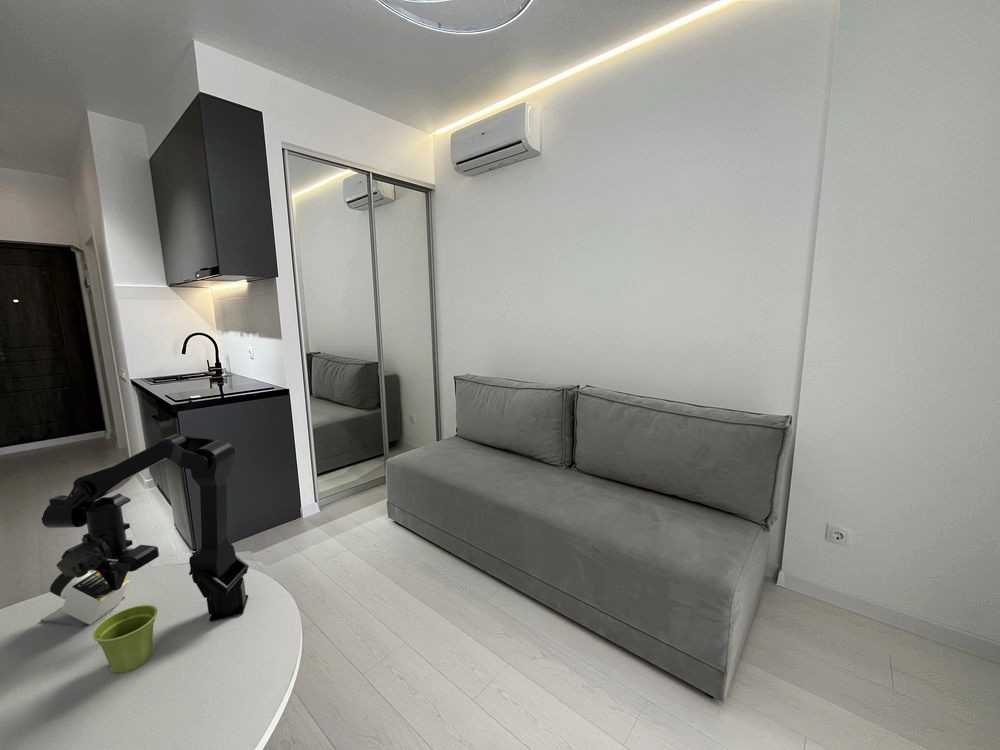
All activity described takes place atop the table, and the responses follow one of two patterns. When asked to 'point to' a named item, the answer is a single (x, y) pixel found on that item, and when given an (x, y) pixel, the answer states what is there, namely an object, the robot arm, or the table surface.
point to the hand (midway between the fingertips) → (116, 589)
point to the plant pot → (127, 637)
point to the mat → (64, 618)
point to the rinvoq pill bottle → (87, 595)
